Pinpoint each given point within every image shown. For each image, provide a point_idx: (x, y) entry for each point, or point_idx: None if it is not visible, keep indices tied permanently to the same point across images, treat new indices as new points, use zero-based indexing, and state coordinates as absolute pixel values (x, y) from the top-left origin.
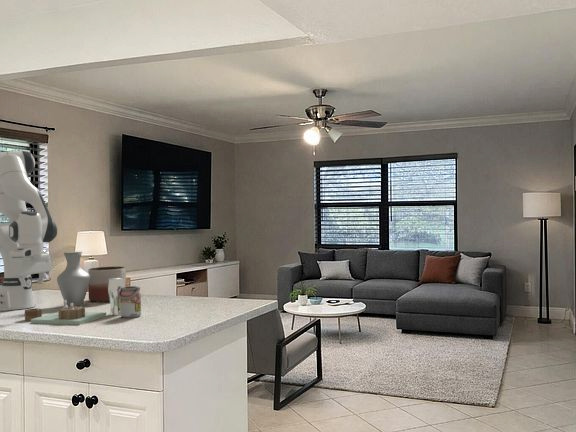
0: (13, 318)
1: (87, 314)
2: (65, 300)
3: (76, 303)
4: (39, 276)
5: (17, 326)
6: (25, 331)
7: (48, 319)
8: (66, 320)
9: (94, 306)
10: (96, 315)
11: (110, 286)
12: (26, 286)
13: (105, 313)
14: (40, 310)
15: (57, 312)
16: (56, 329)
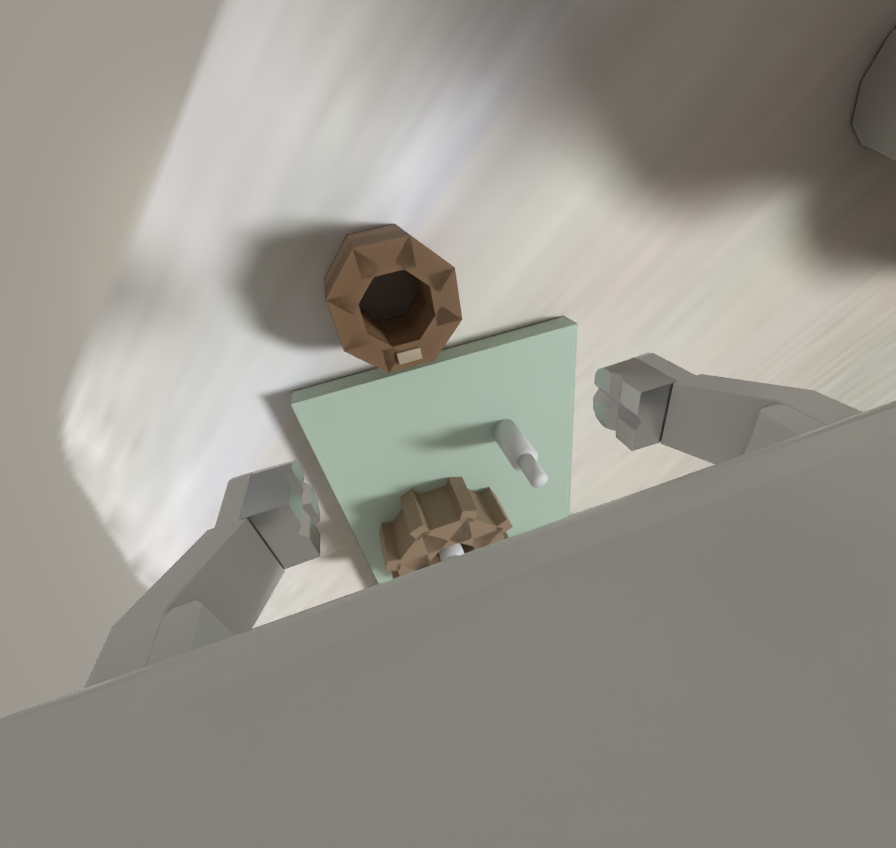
0: (344, 13)
1: (516, 519)
2: (547, 476)
3: (875, 145)
4: (742, 394)
5: (176, 408)
6: (145, 556)
7: (347, 489)
8: (372, 565)
9: (823, 266)
10: None
11: None
12: (311, 494)
13: None
14: (422, 359)
15: (538, 343)
16: (275, 601)
